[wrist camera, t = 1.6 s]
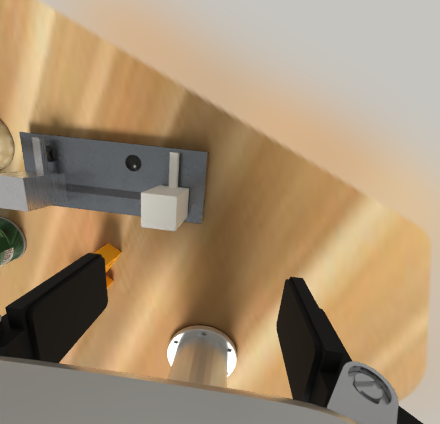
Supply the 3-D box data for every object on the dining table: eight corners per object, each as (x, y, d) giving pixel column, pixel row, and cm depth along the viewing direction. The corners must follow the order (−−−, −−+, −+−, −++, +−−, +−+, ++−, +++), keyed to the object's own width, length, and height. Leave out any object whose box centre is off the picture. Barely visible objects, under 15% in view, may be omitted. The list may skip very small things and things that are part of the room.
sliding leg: (187, 216, 29) (175, 231, 23) (159, 212, 29) (141, 226, 23) (191, 154, 27) (178, 153, 21) (161, 151, 27) (140, 149, 21)
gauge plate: (202, 220, 31) (192, 240, 24) (39, 200, 32) (-18, 213, 25) (208, 152, 28) (199, 150, 21) (30, 133, 29) (-37, 125, 22)
